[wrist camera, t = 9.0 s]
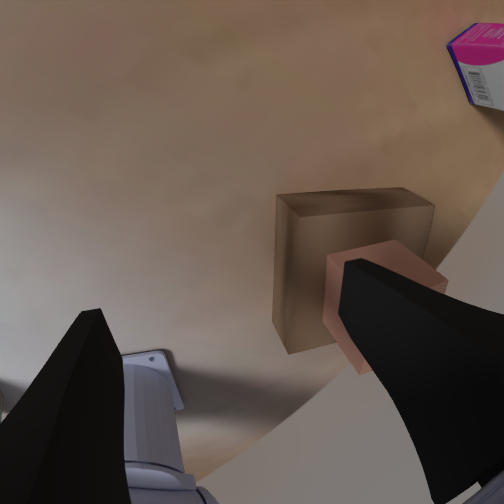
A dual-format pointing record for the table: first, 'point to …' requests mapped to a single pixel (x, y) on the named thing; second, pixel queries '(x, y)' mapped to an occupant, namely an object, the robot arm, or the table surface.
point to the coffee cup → (1, 405)
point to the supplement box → (481, 63)
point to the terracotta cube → (382, 254)
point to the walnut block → (333, 249)
